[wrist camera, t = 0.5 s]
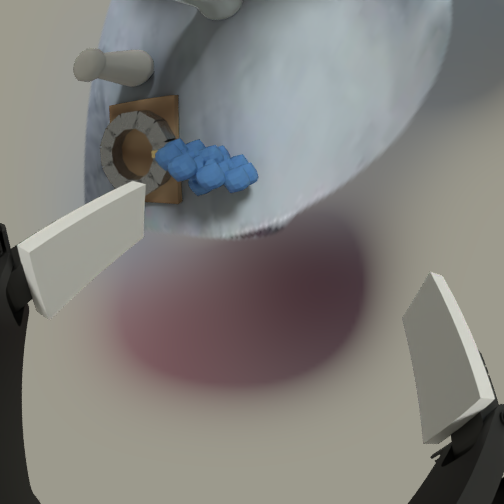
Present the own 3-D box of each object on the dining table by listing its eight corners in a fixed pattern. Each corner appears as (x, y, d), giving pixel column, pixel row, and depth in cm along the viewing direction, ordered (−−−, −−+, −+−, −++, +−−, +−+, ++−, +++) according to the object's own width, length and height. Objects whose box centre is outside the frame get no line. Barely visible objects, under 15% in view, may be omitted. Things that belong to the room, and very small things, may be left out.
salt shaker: (140, 47, 31) (78, 36, 20) (166, 59, 31) (106, 47, 20) (123, 79, 34) (60, 79, 22) (148, 93, 34) (85, 94, 23)
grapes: (179, 168, 39) (130, 191, 28) (193, 125, 35) (143, 133, 25) (251, 201, 38) (222, 236, 28) (270, 157, 35) (247, 176, 25)
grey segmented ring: (108, 116, 36) (95, 118, 33) (175, 106, 33) (164, 107, 31) (115, 190, 42) (103, 196, 39) (179, 192, 39) (168, 199, 36)
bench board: (114, 105, 36) (109, 105, 35) (178, 95, 34) (174, 95, 32) (121, 198, 43) (117, 200, 42) (182, 201, 41) (178, 203, 40)
